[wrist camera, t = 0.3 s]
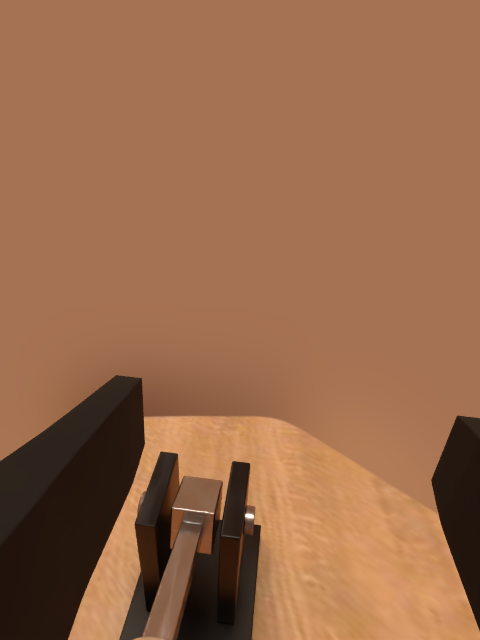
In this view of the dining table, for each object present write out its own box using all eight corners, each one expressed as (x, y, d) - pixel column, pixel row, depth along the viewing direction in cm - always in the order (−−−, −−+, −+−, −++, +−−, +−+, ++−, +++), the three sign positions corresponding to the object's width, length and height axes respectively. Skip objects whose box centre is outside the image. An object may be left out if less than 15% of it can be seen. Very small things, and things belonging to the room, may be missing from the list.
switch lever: (176, 810, 12) (181, 727, 12) (69, 789, 13) (68, 707, 12) (228, 525, 24) (232, 474, 23) (172, 517, 24) (175, 467, 24)
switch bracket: (247, 677, 23) (259, 583, 18) (119, 656, 23) (97, 559, 18) (259, 535, 29) (270, 439, 25) (160, 521, 30) (152, 425, 25)
